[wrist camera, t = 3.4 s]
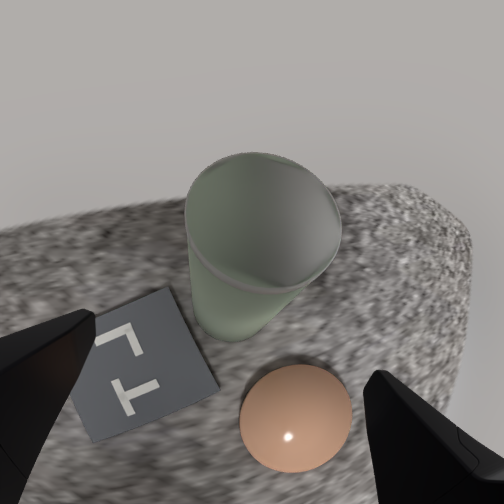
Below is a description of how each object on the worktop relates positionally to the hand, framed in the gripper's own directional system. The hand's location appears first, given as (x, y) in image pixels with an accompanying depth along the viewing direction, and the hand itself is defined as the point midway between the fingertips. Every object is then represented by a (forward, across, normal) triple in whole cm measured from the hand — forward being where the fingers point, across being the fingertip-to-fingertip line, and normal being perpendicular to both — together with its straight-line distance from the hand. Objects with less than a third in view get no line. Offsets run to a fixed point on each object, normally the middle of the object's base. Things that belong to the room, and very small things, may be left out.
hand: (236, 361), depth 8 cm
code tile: (+7, +6, +9) cm, 13 cm away
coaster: (+6, -6, +10) cm, 13 cm away
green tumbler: (+12, 0, +5) cm, 13 cm away
